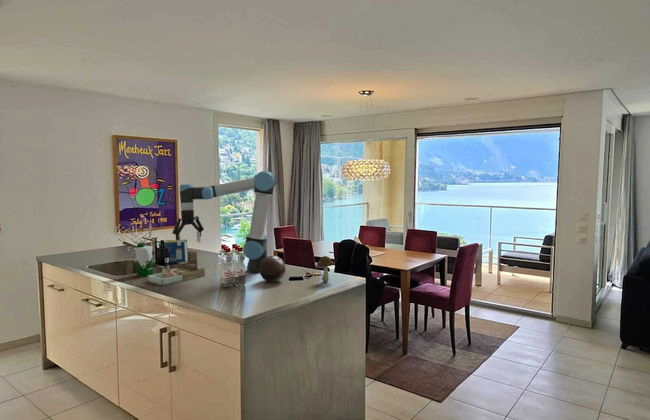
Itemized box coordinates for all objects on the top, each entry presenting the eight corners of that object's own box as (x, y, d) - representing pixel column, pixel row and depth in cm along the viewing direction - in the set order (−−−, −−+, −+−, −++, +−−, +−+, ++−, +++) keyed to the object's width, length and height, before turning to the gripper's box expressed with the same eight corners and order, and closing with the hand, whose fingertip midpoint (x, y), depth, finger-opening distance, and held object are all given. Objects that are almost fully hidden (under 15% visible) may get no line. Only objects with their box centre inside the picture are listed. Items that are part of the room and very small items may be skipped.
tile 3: (167, 274, 248) (164, 275, 247) (167, 277, 252) (164, 278, 251) (165, 267, 250) (161, 269, 249) (165, 271, 253) (161, 272, 252)
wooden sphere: (281, 285, 232) (280, 258, 231) (256, 284, 235) (255, 258, 234) (288, 278, 247) (288, 253, 246) (264, 278, 250) (263, 253, 249)
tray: (182, 281, 246) (182, 275, 246) (161, 285, 236) (161, 279, 236) (168, 277, 256) (168, 271, 256) (147, 281, 247) (147, 275, 246)
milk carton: (143, 273, 268) (141, 242, 267) (155, 273, 267) (154, 242, 265) (134, 276, 260) (132, 244, 258) (147, 277, 258) (145, 245, 256)
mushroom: (338, 280, 240) (337, 255, 239) (326, 285, 231) (325, 258, 230) (325, 278, 246) (325, 253, 245) (313, 282, 237) (312, 256, 236)
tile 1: (171, 269, 245) (169, 271, 243) (177, 274, 245) (175, 275, 243) (168, 274, 247) (166, 276, 245) (174, 278, 247) (172, 280, 245)
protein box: (166, 260, 310) (165, 240, 308) (188, 260, 311) (187, 239, 310) (162, 263, 299) (161, 242, 298) (185, 262, 301) (184, 241, 300)
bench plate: (204, 275, 258) (204, 268, 258) (182, 280, 246) (181, 272, 246) (191, 272, 268) (190, 265, 268) (168, 277, 256) (168, 269, 256)
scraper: (202, 268, 256) (201, 252, 255) (191, 270, 251) (191, 254, 250) (188, 265, 266) (187, 249, 266) (177, 267, 261) (176, 251, 260)
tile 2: (167, 277, 245) (167, 280, 245) (174, 275, 248) (174, 279, 248) (163, 276, 248) (163, 279, 248) (170, 274, 251) (170, 278, 251)
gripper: (201, 207, 268) (203, 240, 269) (165, 210, 249) (167, 246, 250) (208, 208, 263) (210, 241, 264) (171, 211, 244) (173, 247, 245)
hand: (189, 243), depth 257 cm, fingers open, 13 cm apart
